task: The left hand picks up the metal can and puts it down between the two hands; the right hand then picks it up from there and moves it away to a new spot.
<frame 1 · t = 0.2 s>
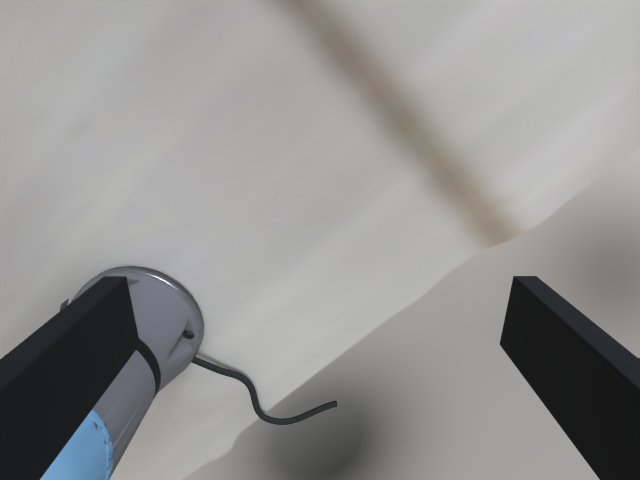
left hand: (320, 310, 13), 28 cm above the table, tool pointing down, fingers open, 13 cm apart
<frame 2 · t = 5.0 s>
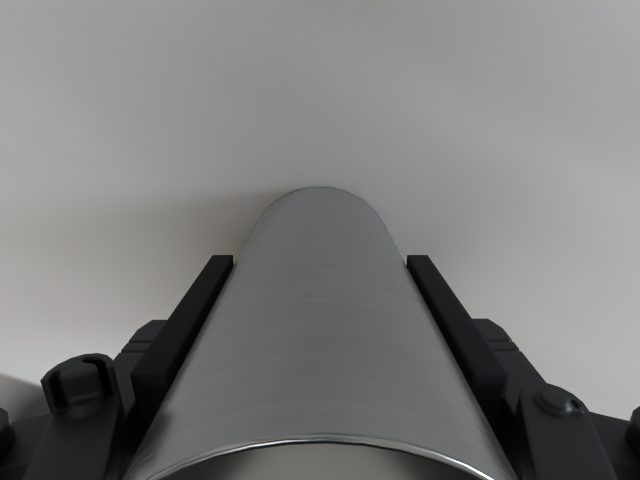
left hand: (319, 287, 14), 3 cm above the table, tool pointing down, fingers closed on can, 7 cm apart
can: (320, 256, 17), on the table, touching left hand
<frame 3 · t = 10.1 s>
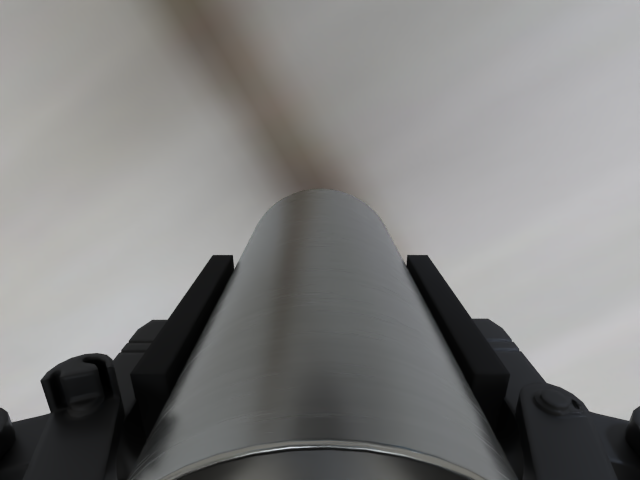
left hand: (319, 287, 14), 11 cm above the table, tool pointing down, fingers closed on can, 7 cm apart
can: (320, 257, 17), point 8 cm above the table, touching left hand
when the left hand's fingers open (5 cm above the table, at t = 15.3 s): can drops 2 cm, on the table.
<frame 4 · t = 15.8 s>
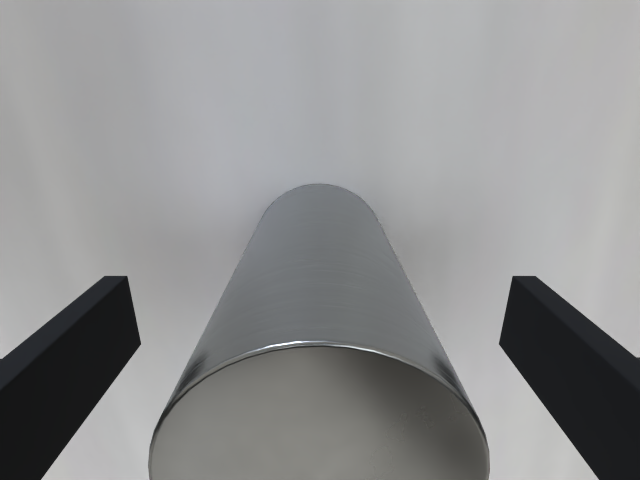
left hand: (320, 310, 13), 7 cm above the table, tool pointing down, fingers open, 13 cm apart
can: (319, 246, 19), on the table
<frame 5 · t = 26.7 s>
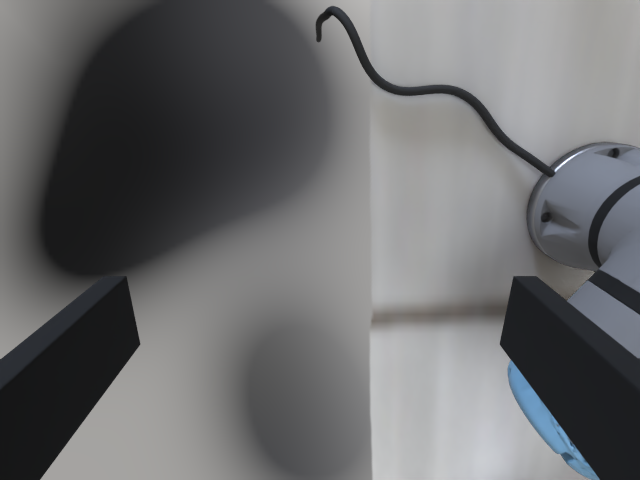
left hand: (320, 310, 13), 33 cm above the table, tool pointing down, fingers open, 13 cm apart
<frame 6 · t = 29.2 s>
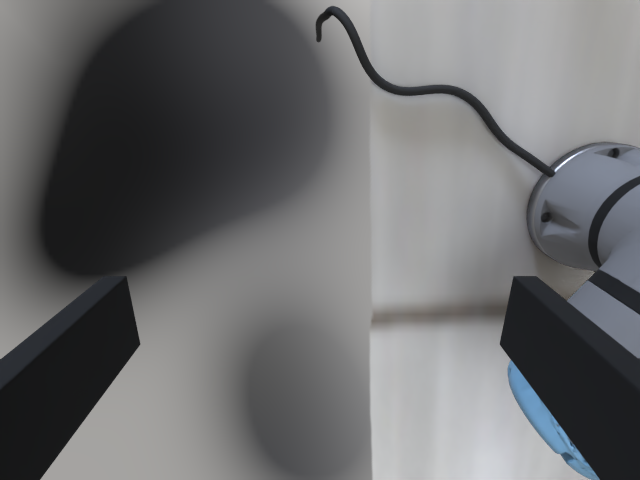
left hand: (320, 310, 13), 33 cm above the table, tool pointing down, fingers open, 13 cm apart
when the right hand's fingers open (5 cm above the table, at t = 32.1 s): can drops 2 cm, on the table.
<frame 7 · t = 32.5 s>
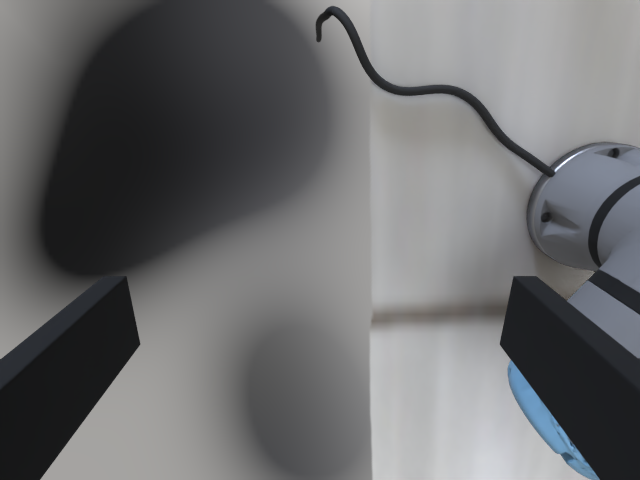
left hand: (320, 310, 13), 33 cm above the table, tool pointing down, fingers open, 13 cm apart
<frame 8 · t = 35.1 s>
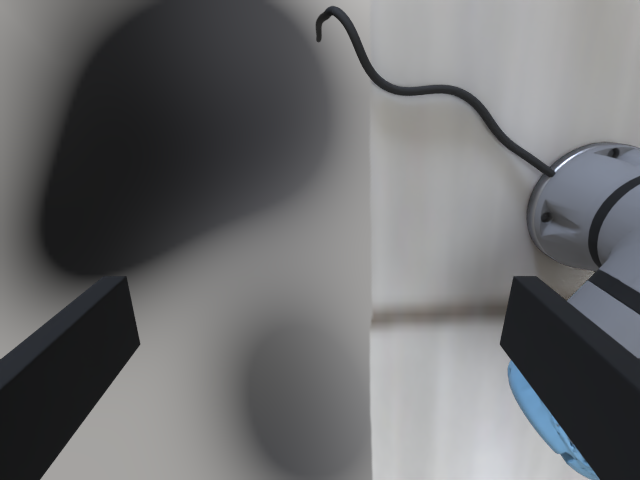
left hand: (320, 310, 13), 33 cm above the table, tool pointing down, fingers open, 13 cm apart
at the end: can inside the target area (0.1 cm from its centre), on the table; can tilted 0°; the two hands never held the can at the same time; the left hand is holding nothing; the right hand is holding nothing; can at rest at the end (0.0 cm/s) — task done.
